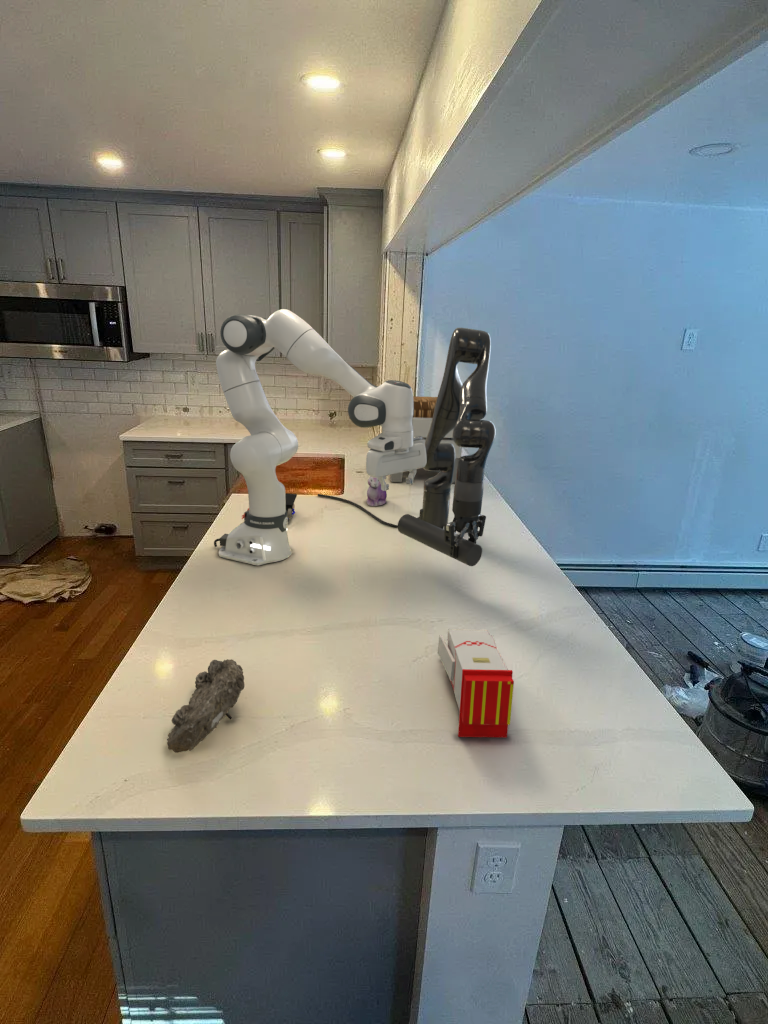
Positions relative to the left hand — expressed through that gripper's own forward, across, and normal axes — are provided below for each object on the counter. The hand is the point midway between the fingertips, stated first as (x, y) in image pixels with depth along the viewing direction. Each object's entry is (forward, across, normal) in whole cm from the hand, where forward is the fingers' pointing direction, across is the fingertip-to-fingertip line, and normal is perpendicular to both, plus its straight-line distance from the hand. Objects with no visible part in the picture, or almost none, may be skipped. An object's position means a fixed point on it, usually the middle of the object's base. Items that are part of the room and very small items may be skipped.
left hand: (397, 487), depth 164 cm
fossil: (+26, +71, +29) cm, 81 cm away
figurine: (+25, -34, -52) cm, 67 cm away
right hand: (+14, -3, +23) cm, 27 cm away
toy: (+28, +26, +53) cm, 65 cm away
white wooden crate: (+25, -80, -75) cm, 113 cm away
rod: (+16, -3, +14) cm, 21 cm away
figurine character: (+24, +5, -57) cm, 62 cm away
